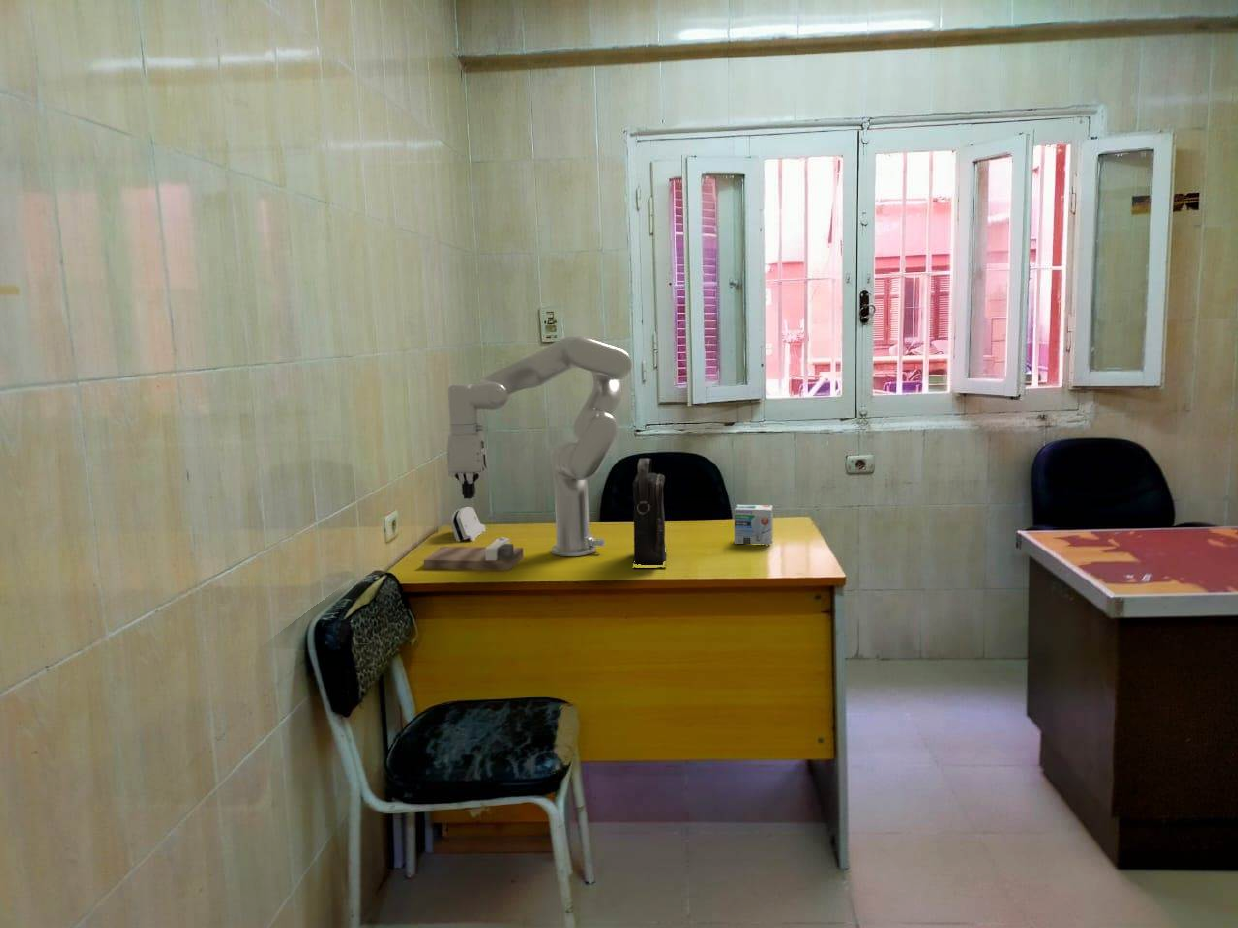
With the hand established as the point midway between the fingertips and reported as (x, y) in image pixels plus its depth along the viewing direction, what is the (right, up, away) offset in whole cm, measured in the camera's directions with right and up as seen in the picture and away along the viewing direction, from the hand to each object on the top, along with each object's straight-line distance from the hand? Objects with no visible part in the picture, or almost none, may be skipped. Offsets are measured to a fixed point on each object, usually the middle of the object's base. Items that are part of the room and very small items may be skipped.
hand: (469, 497), depth 236 cm
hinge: (-7, -14, +39) cm, 42 cm away
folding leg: (+7, -16, +4) cm, 18 cm away
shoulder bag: (+49, -17, +6) cm, 52 cm away
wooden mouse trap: (0, -18, +6) cm, 19 cm away
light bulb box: (+80, -14, +19) cm, 84 cm away
